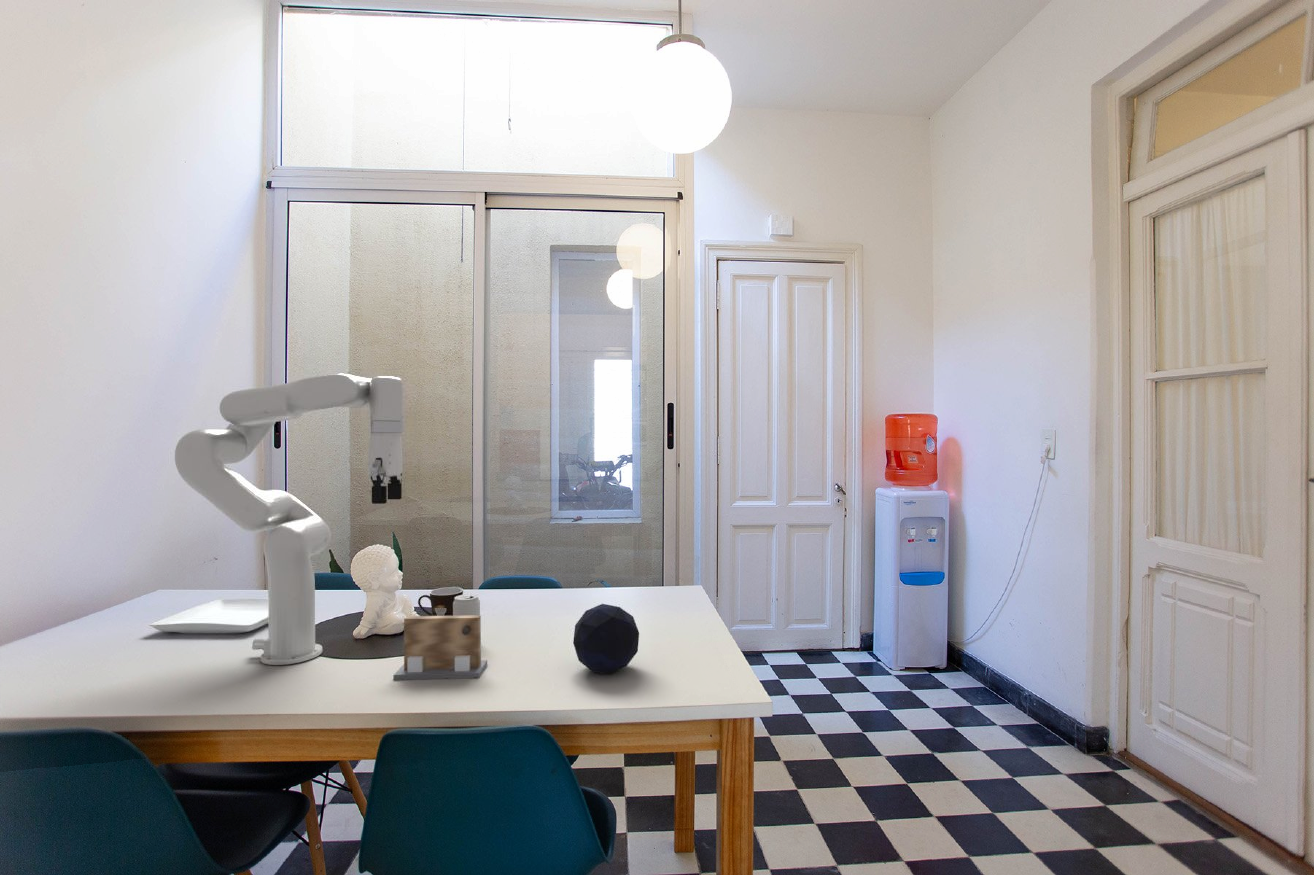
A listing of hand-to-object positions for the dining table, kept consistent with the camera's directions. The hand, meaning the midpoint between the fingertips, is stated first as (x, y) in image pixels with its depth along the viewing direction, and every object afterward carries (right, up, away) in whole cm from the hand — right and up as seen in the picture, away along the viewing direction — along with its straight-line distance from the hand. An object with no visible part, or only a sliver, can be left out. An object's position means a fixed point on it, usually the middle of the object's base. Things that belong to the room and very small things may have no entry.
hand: (387, 501), depth 151 cm
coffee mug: (+6, -37, +21) cm, 43 cm away
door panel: (+17, -35, -11) cm, 41 cm away
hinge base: (+17, -36, -11) cm, 41 cm away
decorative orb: (+53, -36, -10) cm, 65 cm away
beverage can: (+17, -37, +7) cm, 41 cm away
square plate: (-54, -37, +27) cm, 71 cm away
